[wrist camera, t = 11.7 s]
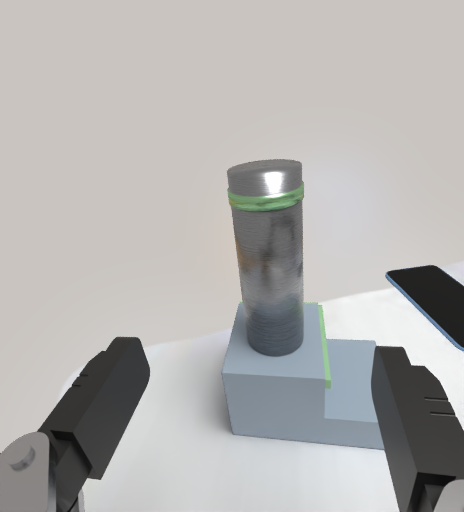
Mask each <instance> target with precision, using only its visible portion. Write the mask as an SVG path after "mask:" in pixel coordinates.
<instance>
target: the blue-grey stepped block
mask: <svg viewBox="0 0 464 512" xmlns="http://www.w3.org/2000/svg"><path fill="white" fill-rule="evenodd" d="M375 347H376V342H375V341H367V340H337V339H326V334H325V326H324V318H323V310H322V305H318V303H304V340H303V343H302V345H301V346H300V347H299V348H298V349H297V350H296V351H294V352H293V353H291V354H288V355H285V356H278V357H273V356H266V355H263V354H260V353H258V352H256V351H255V350H254V349H252V348H251V346H250V345H249V343H248V340H247V333H246V325H245V316H244V308H243V302H240V303H239V306H238V310H237V314H236V318H235V321H234V326H233V329H232V333H231V337H230V341H229V345H228V349H227V353H226V357H225V361H224V365H223V369H222V372H221V373H222V379H223V384H224V389H225V394H226V400H227V405H228V410H229V416H230V421H231V426H232V431H233V434H234V435H244V436H254V437H264V438H274V439H284V440H294V441H304V442H313V443H323V444H333V445H343V446H353V447H363V448H373V449H383V450H385V449H384V445H383V441H382V437H381V433H380V428H379V424H378V420H377V416H376V412H375V408H374V404H373V399H372V393H371V375H372V367H373V358H374V350H375Z"/></svg>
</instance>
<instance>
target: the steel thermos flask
mask: <svg viewBox="0 0 464 512" xmlns="http://www.w3.org/2000/svg"><path fill="white" fill-rule="evenodd" d="M227 175H228V184H229V188H228V197H229V204H230V205H231V209H232V217H233V225H234V233H235V242H236V250H237V258H238V267H239V274H240V283H241V291H242V300H243V308H244V316H245V325H246V333H247V340H248V343H249V345H250V346H251V348H252V349H254V350H255V351H256V352H258V353H260V354H263V355H266V356H273V357H278V356H285V355H288V354H291V353H293V352H294V351H296V350H297V349H298V348H299V347H300V346H301V345H302V343H303V340H304V302H303V226H302V225H303V224H302V200H303V198H304V182H303V181H302V164H301V163H300V162H298V161H294V160H285V159H277V160H276V159H274V160H262V161H254V162H248V163H244V164H240V165H237V166H234V167H232V168H230V169H228V171H227Z"/></svg>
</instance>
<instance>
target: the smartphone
mask: <svg viewBox="0 0 464 512" xmlns="http://www.w3.org/2000/svg"><path fill="white" fill-rule="evenodd" d="M386 279H387V280H388V281H389V282H390V283H391V284H392V285H393V286H394V287H396V288H397V289H398V290H399V291H400V292H401V293H402V294H403V295H404V296H405V297H406V298H407V299H408V300H409V301H410V302H411V303H412V304H413V305H414V306H415V307H416V308H417V309H418V310H419V311H420V312H421V313H422V314H423V315H424V316H425V317H426V318H427V319H428V320H429V321H430V322H431V323H432V324H433V325H434V326H435V327H436V328H437V329H438V330H439V331H440V332H441V333H442V334H443V335H444V336H445V337H446V338H447V339H448V340H449V341H450V342H451V343H452V344H453V345H454V346H456V347H457V348H458V349H460V350H462V351H464V286H463V285H462V284H460V283H459V282H458V281H456V280H455V279H454V278H452V277H451V276H450V275H448V274H447V273H446V272H444V271H443V270H442V269H440V268H438V267H437V266H433V265H428V266H420V267H414V268H406V269H400V270H392V271H388V272H387V273H386Z"/></svg>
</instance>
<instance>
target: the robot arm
mask: <svg viewBox="0 0 464 512" xmlns="http://www.w3.org/2000/svg"><path fill="white" fill-rule="evenodd" d="M149 377H150V367H149V364H148V361H147V358H146V356H145V353H144V350H143V347H142V344H141V341H140V339H139V338H136V337H116V338H115V339H114V340H113V341H112V343H111V344H110V345H109V347H108V348H107V350H106V351H101V352H100V353H99V354H98V355H96V356H95V357H94V358H93V359H92V360H90V361H89V362H88V363H87V365H86V366H85V368H84V369H83V370H82V372H81V373H80V376H79V377H77V378H76V380H75V381H74V382H73V384H72V387H70V388H69V389H68V391H67V392H66V393H65V395H64V396H63V397H62V399H61V400H60V401H59V403H58V404H57V405H56V407H55V408H54V409H53V411H52V412H51V414H50V415H49V416H48V418H47V419H46V420H45V422H44V423H43V424H42V426H41V427H40V428H39V429H38V431H37V432H33V433H29V434H26V435H24V436H22V437H20V438H18V439H17V440H15V441H14V442H13V443H11V444H10V445H9V446H8V447H7V448H6V449H5V450H4V451H3V452H2V453H0V512H85V510H84V495H83V490H82V486H83V485H84V483H85V481H86V479H87V478H91V479H98V480H101V478H102V476H103V474H104V472H105V470H106V468H107V466H108V464H109V462H110V460H111V458H112V456H113V454H114V452H115V450H116V448H117V446H118V444H119V442H120V440H121V438H122V436H123V433H124V431H125V429H126V427H127V425H128V423H129V421H130V419H131V417H132V415H133V413H134V411H135V409H136V407H137V405H138V403H139V401H140V399H141V397H142V395H143V393H144V391H145V389H146V387H147V384H148V382H149ZM371 393H372V399H373V404H374V408H375V412H376V416H377V420H378V424H379V428H380V433H381V437H382V441H383V445H384V449H385V453H386V457H387V461H388V466H389V470H390V474H391V478H392V482H393V486H394V490H395V494H396V499H397V503H398V507H399V511H400V512H464V431H463V429H462V427H461V424H460V422H459V420H458V418H457V417H456V416H455V412H454V410H453V408H452V406H451V404H450V402H448V398H447V395H446V393H445V391H444V389H443V387H442V385H441V383H440V381H439V380H438V379H437V378H436V377H435V376H434V375H433V374H432V373H431V372H430V371H429V370H428V369H427V368H426V367H425V366H413V365H411V364H410V361H409V359H408V356H407V354H406V351H405V350H404V348H403V347H390V346H376V347H375V350H374V358H373V367H372V375H371Z"/></svg>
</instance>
